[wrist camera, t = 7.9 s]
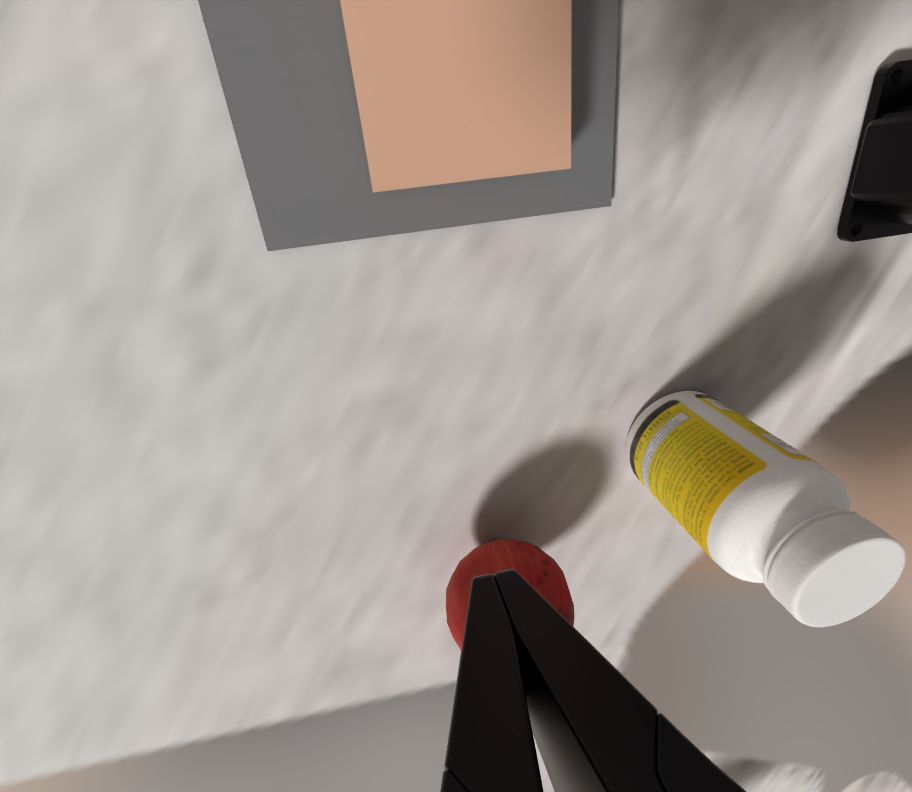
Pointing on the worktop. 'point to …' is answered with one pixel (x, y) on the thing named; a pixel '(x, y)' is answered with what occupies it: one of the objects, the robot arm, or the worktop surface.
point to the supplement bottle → (762, 508)
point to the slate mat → (341, 139)
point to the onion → (498, 558)
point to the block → (460, 88)
